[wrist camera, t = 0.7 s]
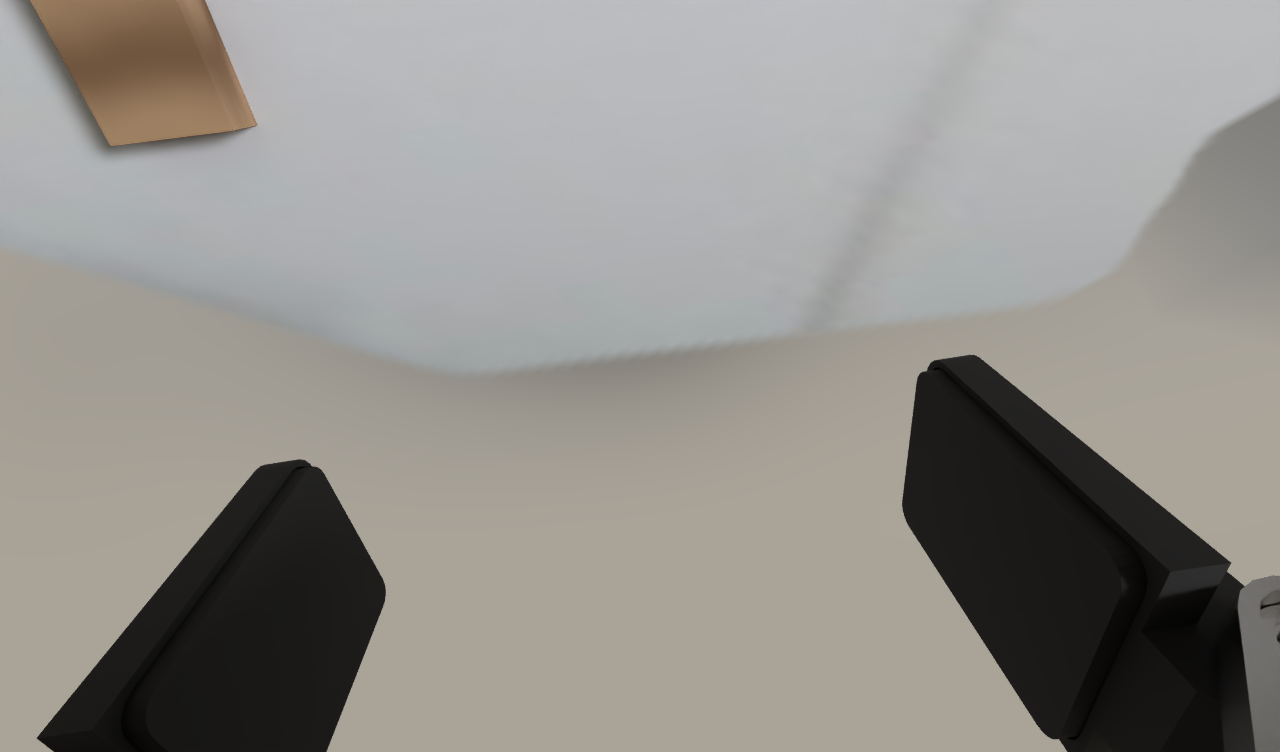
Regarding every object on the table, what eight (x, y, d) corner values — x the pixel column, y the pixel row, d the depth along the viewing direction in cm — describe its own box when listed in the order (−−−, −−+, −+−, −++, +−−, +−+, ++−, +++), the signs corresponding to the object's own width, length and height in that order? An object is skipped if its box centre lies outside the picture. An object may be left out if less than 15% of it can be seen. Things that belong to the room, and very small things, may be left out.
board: (47, -53, 25) (-5, -62, 23) (180, -70, 25) (141, -81, 23) (146, 138, 29) (110, 146, 27) (261, 124, 29) (234, 130, 27)
